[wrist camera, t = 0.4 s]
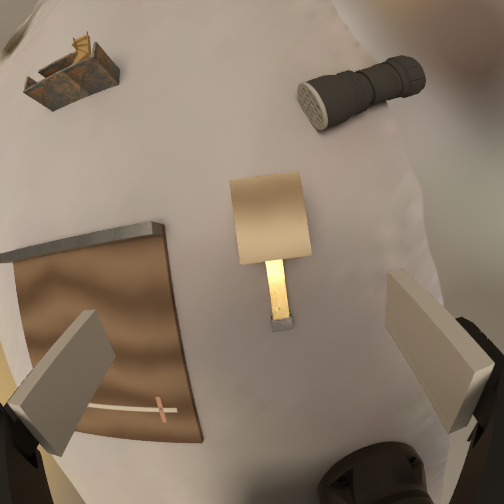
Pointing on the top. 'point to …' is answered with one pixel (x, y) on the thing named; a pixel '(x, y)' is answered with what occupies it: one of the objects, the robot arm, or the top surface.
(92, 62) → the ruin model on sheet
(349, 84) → the flashlight
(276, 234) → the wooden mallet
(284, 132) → the top surface
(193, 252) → the top surface
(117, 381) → the board
